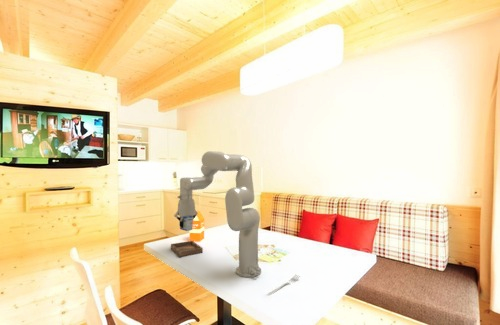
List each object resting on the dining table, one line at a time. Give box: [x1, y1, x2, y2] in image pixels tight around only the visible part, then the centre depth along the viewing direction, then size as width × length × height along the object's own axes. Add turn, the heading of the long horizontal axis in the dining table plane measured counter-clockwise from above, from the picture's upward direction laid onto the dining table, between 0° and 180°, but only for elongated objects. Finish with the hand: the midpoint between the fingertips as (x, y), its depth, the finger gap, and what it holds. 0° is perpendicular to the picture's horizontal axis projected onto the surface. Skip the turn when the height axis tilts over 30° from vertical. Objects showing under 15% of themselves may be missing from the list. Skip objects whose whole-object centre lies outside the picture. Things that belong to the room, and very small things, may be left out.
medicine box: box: [179, 216, 193, 232], centre depth 157 cm, size 8×4×9 cm, turn 47°
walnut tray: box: [170, 240, 204, 258], centre depth 157 cm, size 18×14×3 cm
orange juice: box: [189, 210, 205, 243], centre depth 181 cm, size 8×9×20 cm
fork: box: [267, 274, 301, 296], centre depth 110 cm, size 3×24×2 cm, turn 135°
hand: (186, 226), depth 157 cm, fingers closed on medicine box, 5 cm apart
